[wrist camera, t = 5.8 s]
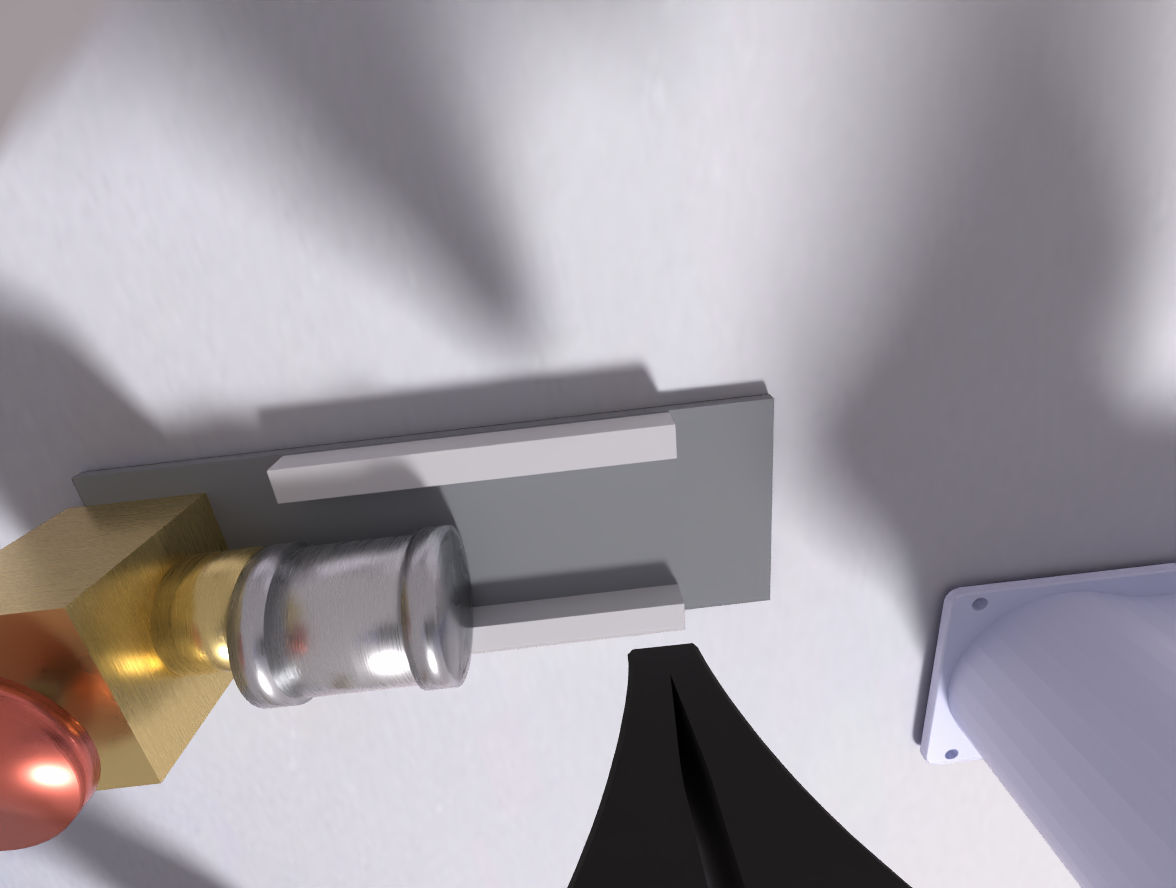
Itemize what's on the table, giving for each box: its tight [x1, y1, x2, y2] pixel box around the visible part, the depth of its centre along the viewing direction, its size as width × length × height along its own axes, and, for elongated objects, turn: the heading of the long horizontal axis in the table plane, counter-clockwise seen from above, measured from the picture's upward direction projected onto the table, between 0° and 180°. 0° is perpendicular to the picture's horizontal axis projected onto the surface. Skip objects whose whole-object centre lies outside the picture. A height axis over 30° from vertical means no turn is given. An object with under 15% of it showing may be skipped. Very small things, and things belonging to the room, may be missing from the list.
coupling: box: [227, 525, 473, 709], centre depth 16 cm, size 5×4×4 cm
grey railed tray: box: [71, 394, 774, 654], centre depth 18 cm, size 20×7×1 cm, turn 96°
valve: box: [0, 493, 266, 851], centre depth 15 cm, size 7×5×7 cm
